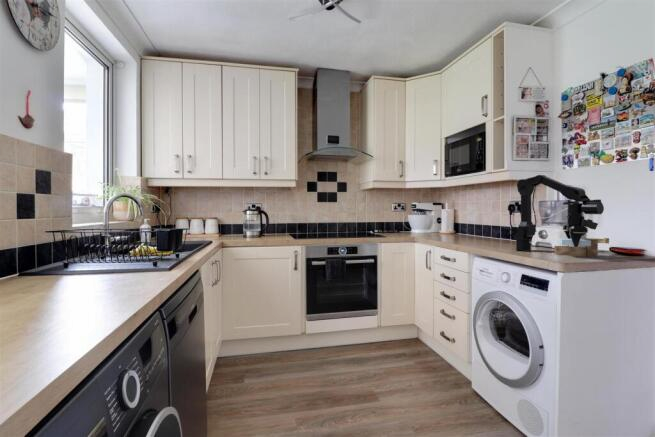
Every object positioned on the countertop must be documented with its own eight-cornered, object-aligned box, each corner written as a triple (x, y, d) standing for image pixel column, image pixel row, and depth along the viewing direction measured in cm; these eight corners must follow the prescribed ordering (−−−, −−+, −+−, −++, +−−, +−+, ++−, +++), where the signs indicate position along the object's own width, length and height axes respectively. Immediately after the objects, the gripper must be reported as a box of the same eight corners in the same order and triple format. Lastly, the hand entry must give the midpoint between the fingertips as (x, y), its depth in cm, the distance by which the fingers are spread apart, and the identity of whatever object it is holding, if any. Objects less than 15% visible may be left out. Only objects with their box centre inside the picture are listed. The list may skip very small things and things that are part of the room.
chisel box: (556, 254, 159) (556, 238, 159) (554, 253, 164) (554, 237, 164) (597, 256, 152) (597, 239, 151) (593, 255, 157) (594, 238, 157)
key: (588, 242, 154) (588, 237, 154) (586, 242, 157) (587, 237, 157) (609, 243, 151) (609, 238, 150) (606, 242, 153) (606, 237, 153)
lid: (561, 244, 150) (561, 239, 150) (558, 243, 157) (559, 238, 157) (590, 246, 145) (591, 240, 145) (586, 244, 152) (586, 239, 152)
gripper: (602, 214, 138) (601, 249, 139) (590, 213, 155) (589, 244, 156) (571, 214, 144) (570, 248, 144) (563, 213, 160) (562, 243, 161)
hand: (574, 246), depth 151 cm, fingers closed on lid, 7 cm apart
